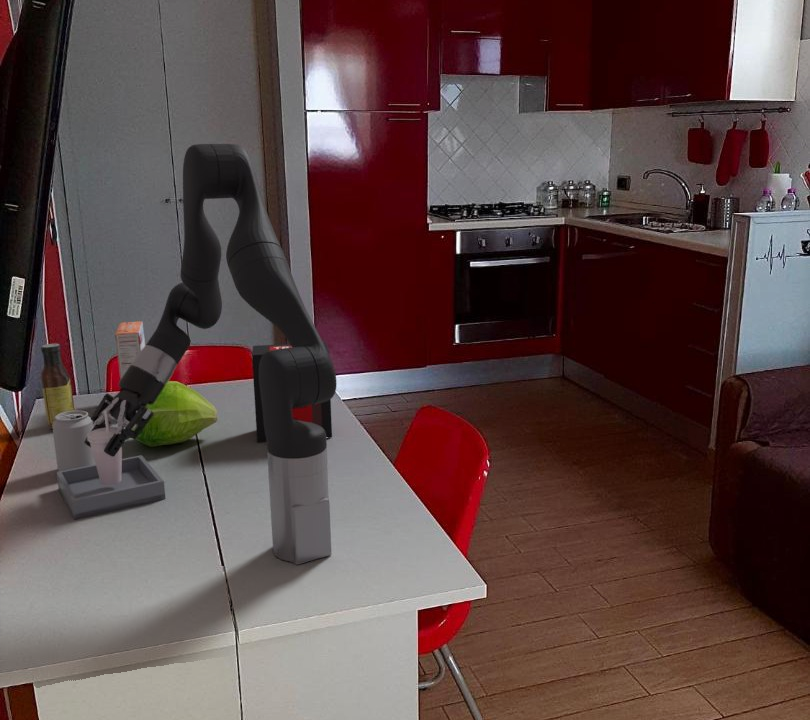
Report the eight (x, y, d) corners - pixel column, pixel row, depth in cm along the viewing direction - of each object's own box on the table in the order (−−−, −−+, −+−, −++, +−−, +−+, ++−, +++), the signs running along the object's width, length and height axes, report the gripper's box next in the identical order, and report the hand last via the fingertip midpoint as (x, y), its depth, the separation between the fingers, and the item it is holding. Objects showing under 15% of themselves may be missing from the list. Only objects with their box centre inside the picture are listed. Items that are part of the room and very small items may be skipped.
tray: (165, 498, 150) (163, 481, 149) (74, 519, 142) (72, 501, 141) (143, 471, 163) (141, 455, 162) (58, 488, 155) (56, 471, 154)
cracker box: (127, 400, 211) (119, 321, 206) (151, 398, 213) (144, 320, 207) (122, 416, 198) (113, 333, 193) (148, 414, 199) (140, 331, 194)
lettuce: (220, 449, 175) (216, 389, 172) (122, 459, 170) (116, 397, 167) (217, 427, 189) (213, 371, 186) (127, 435, 184) (121, 378, 181)
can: (84, 478, 160) (77, 421, 157) (50, 476, 161) (42, 419, 158) (105, 464, 167) (98, 409, 164) (72, 462, 168) (65, 407, 165)
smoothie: (121, 487, 149) (113, 415, 145) (87, 488, 149) (78, 416, 145) (133, 474, 155) (125, 404, 151) (100, 474, 155) (91, 405, 152)
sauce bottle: (82, 425, 191) (72, 344, 187) (58, 433, 186) (48, 349, 181) (65, 421, 195) (55, 341, 190) (41, 428, 190) (30, 346, 185)
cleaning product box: (329, 425, 190) (326, 342, 185) (332, 437, 181) (328, 351, 176) (258, 429, 187) (253, 345, 182) (257, 442, 179) (251, 355, 174)
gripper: (114, 358, 157) (63, 432, 151) (156, 370, 147) (104, 449, 142) (141, 378, 162) (93, 450, 156) (183, 391, 153) (134, 468, 147)
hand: (98, 449), depth 149 cm, fingers closed on smoothie, 6 cm apart
